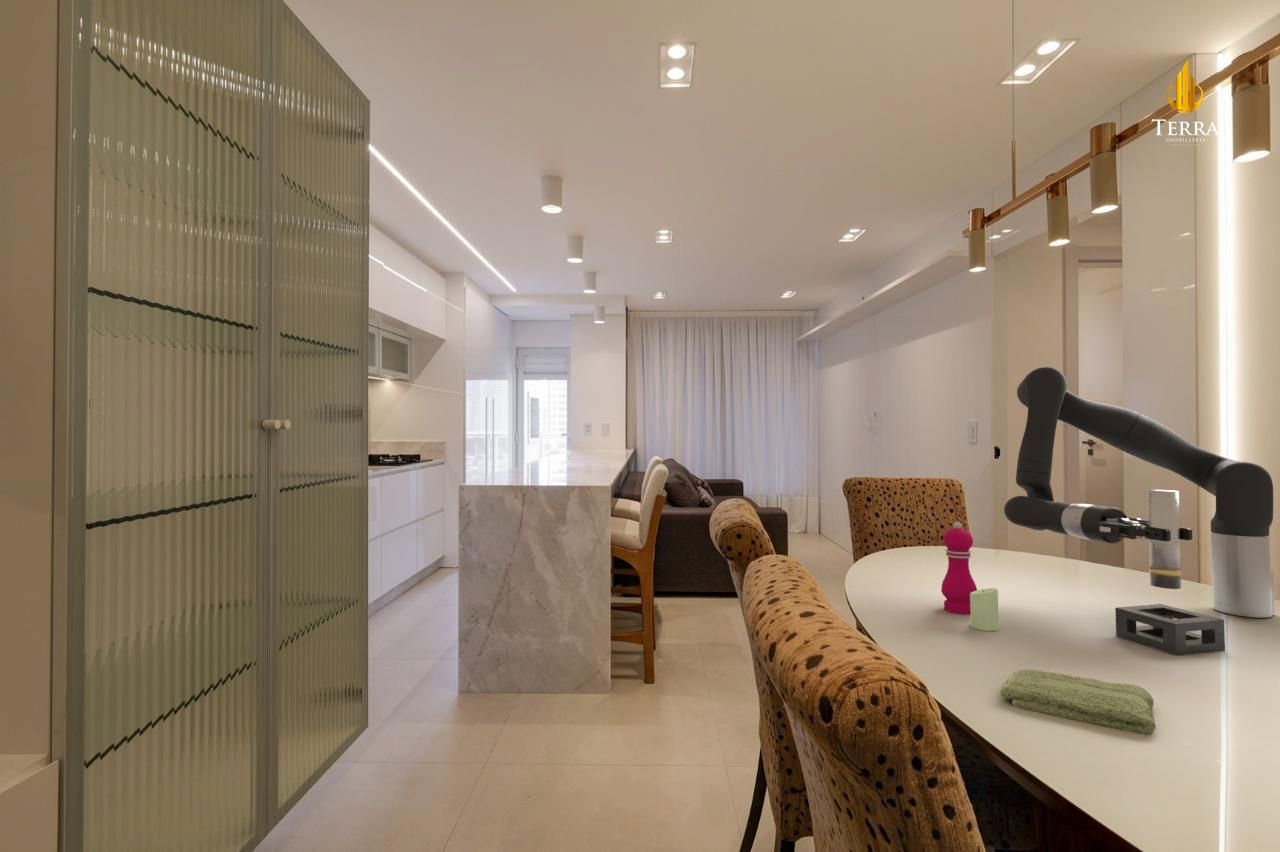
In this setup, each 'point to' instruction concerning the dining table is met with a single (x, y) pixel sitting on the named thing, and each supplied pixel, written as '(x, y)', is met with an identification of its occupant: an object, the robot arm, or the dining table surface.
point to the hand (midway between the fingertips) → (1179, 535)
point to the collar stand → (1170, 629)
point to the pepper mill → (958, 570)
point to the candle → (984, 609)
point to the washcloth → (1082, 699)
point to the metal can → (1165, 552)
